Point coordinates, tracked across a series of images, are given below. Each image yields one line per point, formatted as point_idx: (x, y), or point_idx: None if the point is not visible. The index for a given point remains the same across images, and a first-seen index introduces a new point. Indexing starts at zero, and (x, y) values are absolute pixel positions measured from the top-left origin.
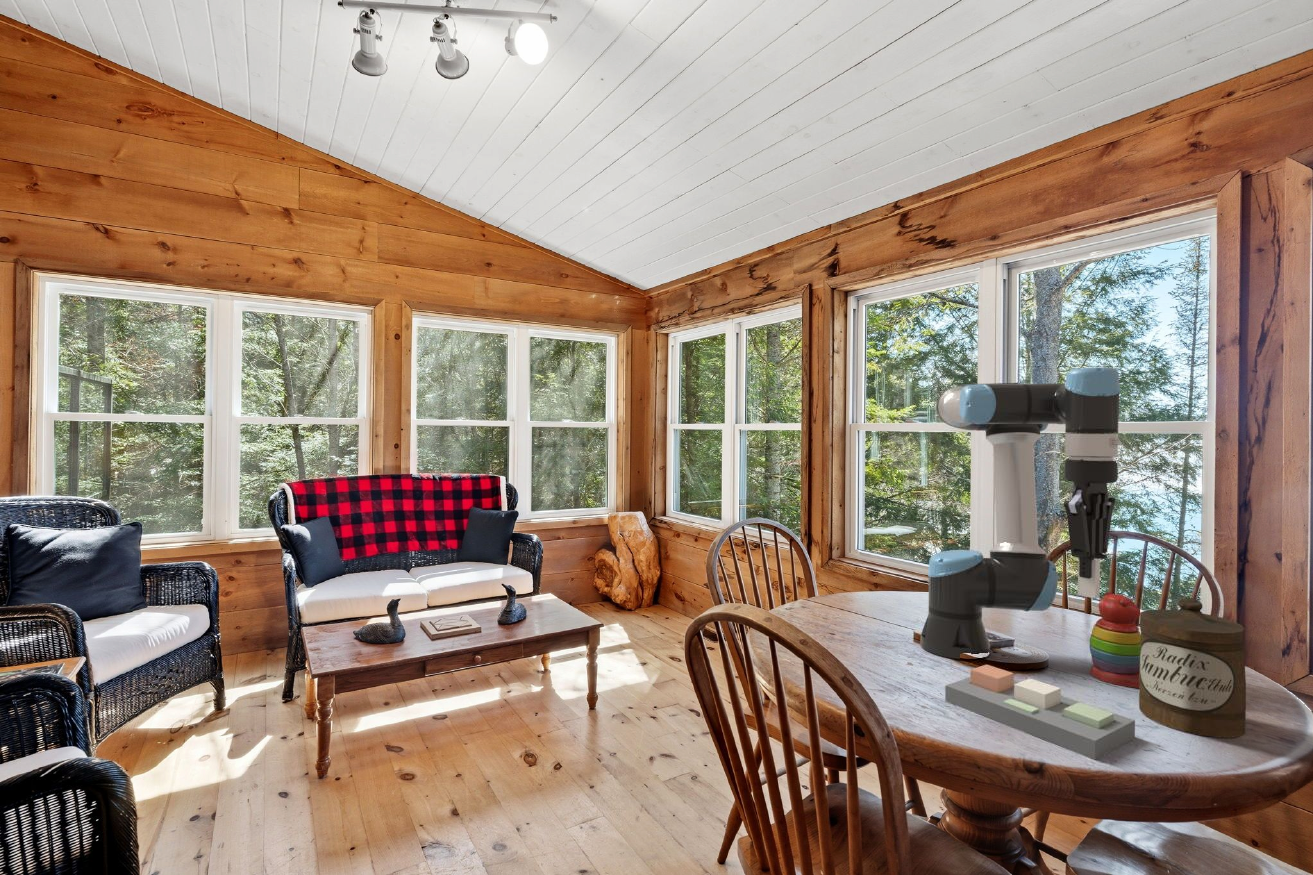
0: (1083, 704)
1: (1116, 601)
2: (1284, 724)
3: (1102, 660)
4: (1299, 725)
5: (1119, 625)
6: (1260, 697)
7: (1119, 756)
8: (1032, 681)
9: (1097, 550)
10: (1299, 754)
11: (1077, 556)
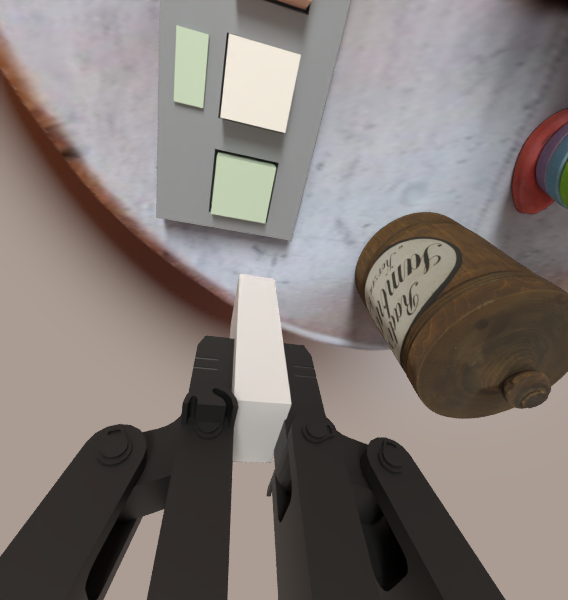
0: (269, 176)
1: None
2: None
3: (560, 143)
4: None
5: None
6: None
7: (204, 229)
8: (283, 66)
9: (277, 506)
10: (366, 349)
11: (190, 415)
